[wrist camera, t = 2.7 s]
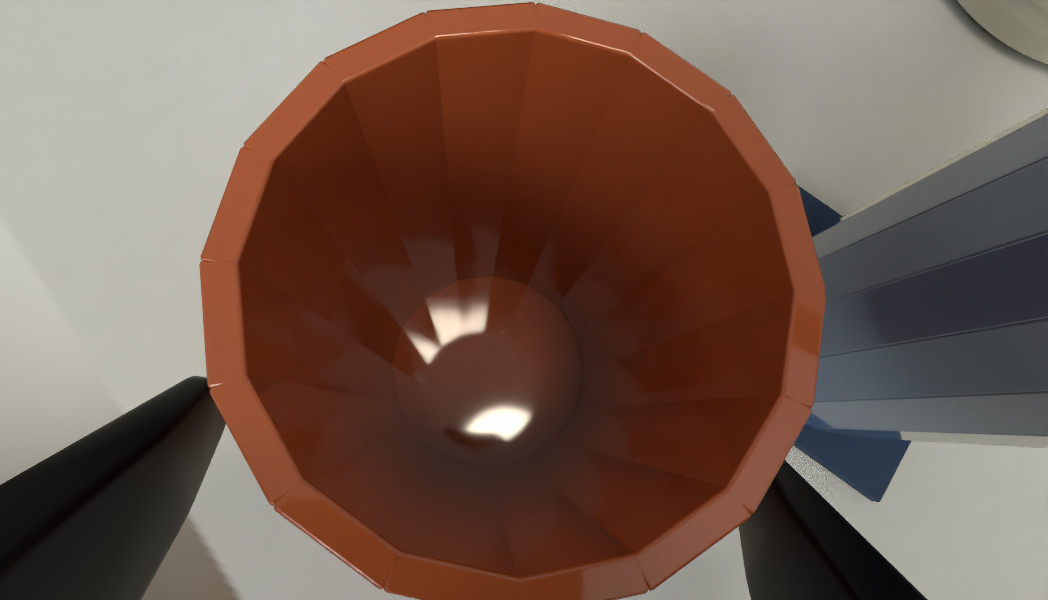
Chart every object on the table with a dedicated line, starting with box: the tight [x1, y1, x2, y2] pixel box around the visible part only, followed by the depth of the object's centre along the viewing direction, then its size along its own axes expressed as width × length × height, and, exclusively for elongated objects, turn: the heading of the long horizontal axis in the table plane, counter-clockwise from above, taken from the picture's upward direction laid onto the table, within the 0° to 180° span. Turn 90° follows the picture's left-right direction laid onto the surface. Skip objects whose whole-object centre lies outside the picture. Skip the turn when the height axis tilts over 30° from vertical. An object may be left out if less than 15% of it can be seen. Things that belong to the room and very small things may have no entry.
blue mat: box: [793, 184, 911, 502], centre depth 20 cm, size 8×8×1 cm
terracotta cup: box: [200, 2, 826, 600], centre depth 13 cm, size 7×7×13 cm
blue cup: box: [805, 108, 1048, 448], centre depth 14 cm, size 7×7×13 cm
